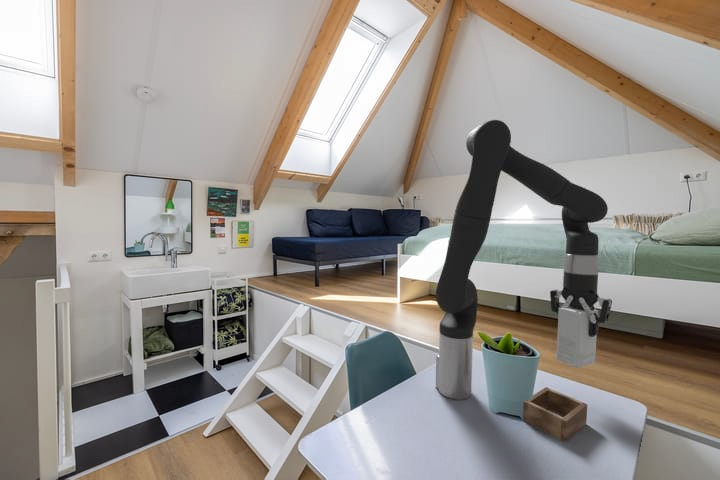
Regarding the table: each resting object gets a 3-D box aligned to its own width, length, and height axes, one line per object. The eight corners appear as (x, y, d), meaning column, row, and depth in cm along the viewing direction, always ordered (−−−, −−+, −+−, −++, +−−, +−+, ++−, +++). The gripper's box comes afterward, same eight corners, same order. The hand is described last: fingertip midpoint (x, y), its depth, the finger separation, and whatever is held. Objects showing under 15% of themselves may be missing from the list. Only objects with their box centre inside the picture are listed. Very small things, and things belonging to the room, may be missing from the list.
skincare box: (573, 356, 89) (575, 304, 89) (597, 364, 84) (599, 309, 83) (554, 360, 85) (557, 306, 85) (578, 369, 80) (580, 311, 80)
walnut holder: (522, 420, 78) (523, 401, 77) (545, 405, 84) (546, 387, 84) (565, 442, 70) (566, 421, 69) (586, 424, 76) (587, 404, 76)
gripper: (545, 268, 87) (542, 327, 88) (608, 276, 75) (604, 344, 76) (557, 266, 91) (555, 322, 92) (619, 273, 80) (615, 337, 81)
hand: (577, 332), depth 84 cm, fingers closed on skincare box, 6 cm apart
